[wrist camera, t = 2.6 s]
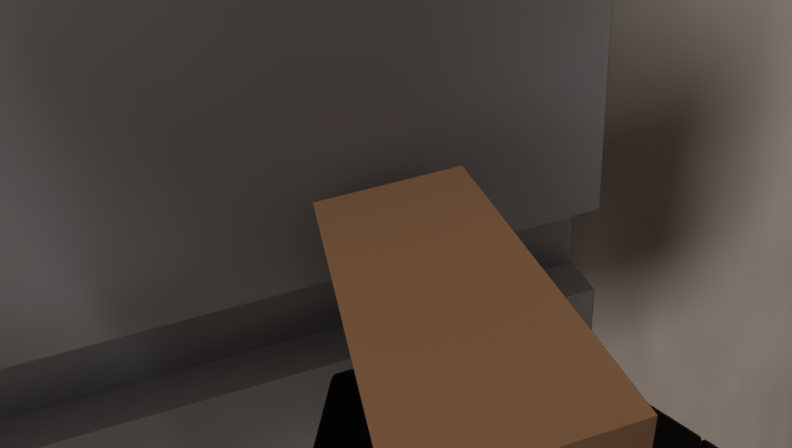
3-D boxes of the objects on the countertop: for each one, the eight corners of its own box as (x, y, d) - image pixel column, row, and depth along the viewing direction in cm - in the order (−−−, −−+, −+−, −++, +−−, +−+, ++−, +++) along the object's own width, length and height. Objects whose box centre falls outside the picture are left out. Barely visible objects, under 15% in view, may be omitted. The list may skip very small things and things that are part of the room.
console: (548, 402, 17) (589, 469, 15) (-270, 655, 14) (-347, 775, 12) (553, -160, 9) (635, -168, 7) (-1221, 156, 7) (-1808, 271, 5)
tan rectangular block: (464, 368, 13) (611, 684, 8) (364, 398, 13) (451, 744, 8) (438, 134, 10) (657, 415, 5) (303, 167, 10) (385, 503, 5)
